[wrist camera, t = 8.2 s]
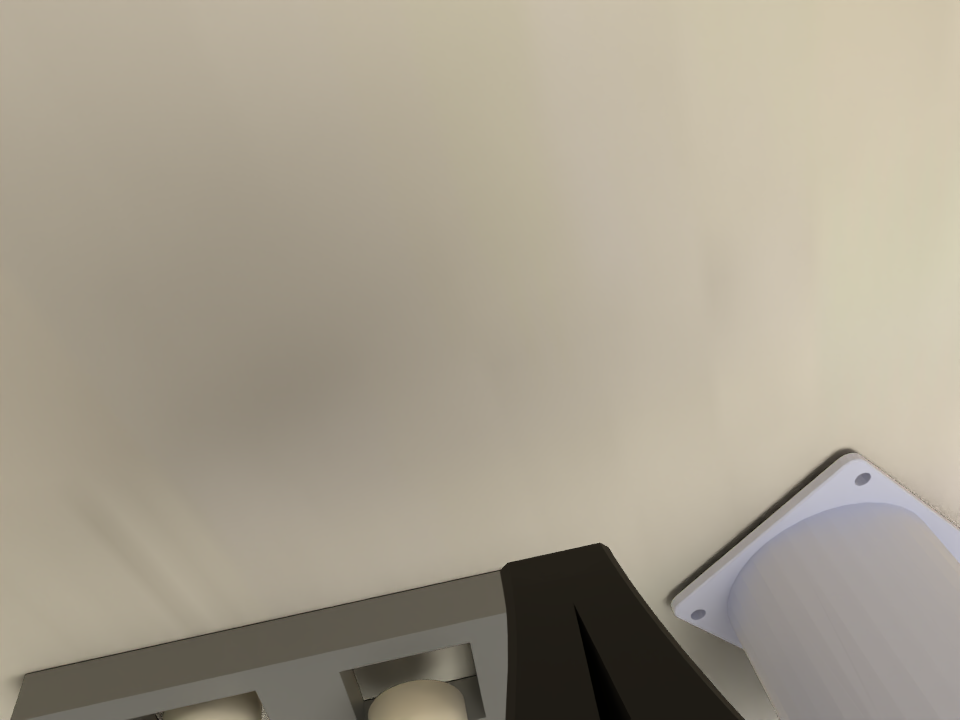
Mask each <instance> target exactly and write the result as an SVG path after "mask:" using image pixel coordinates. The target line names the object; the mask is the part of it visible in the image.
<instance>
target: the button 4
mask: <svg viewBox="0 0 960 720" xmlns="http://www.w3.org/2000/svg"><path fill="white" fill-rule="evenodd" d="M368 720H468V718H467V712H466V706H465V700H464V697H463V695H462V693H461V692H460V691H459V690H458V689H457V688H456V687H454V686H452V685H451V684H448V683H446V682H442V681H437V680H415V681H409V682H405V683H402V684H399V685H396V686H394V687H392V688H390V689H388V690H386V691H384V692H383V693H382V694H380V695H379V696H378V697H377V698H376V699H375V700H374V701H373V703H372V704H371V706H370V708H369V711H368Z"/></svg>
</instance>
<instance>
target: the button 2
mask: <svg viewBox="0 0 960 720" xmlns="http://www.w3.org/2000/svg"><path fill="white" fill-rule="evenodd" d="M261 717H262V703H261V701H260V699H259V697H258V695H257V692H256V691H252V692H247V693H243V694H238V695H234V696H230V697H225V698H221V699H216V700H212V701H207V702H203V703H198V704H194V705H189V706H185V707H180V708H176V709H172V710H167V711H164V713H163V719H162V720H261Z"/></svg>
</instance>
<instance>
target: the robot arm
mask: <svg viewBox="0 0 960 720" xmlns="http://www.w3.org/2000/svg"><path fill="white" fill-rule="evenodd" d="M500 575H501V581H502V587H503V593H504V599H505V605H506V615H507V633H508V673H507V694H506V715H505V720H745V719H744V718H743V717H742V716H741V715H740V714H739V713H738V712H737V711H736V710H735V708H734V707H733V706H732V705H731V704H730V703H729V702H728V701H727V700H726V699H725V697H724V696H723V695H722V694H721V693H720V692H719V691H718V690H717V688H716V687H715V686H714V685H713V684H712V683H711V682H710V680H709V679H708V678H707V677H706V676H705V675H704V673H703V672H702V671H701V670H700V669H699V668H698V666H697V665H696V664H695V663H694V662H693V661H692V659H691V658H690V657H689V656H688V655H687V654H686V652H685V651H684V650H683V649H682V648H681V646H680V645H679V644H678V643H677V642H676V640H675V639H674V638H673V637H672V635H671V634H670V633H669V632H668V630H667V629H666V628H665V627H664V625H663V624H662V623H661V621H660V620H659V619H658V618H657V616H656V615H655V614H654V612H653V611H652V610H651V608H650V607H649V606H648V605H647V603H646V602H645V601H644V599H643V598H642V596H641V595H640V594H639V592H638V591H637V590H636V588H635V587H634V585H633V584H632V583H631V581H630V580H629V578H628V577H627V575H626V574H625V572H624V571H623V569H622V568H621V566H620V565H619V563H618V562H617V560H616V559H615V557H614V556H613V554H612V552H611V551H610V549H609V547H607V546H605V545H603V544H601V543H597V544H592V545H587V546H583V547H578V548H574V549H569V550H564V551H560V552H555V553H551V554H546V555H542V556H537V557H532V558H528V559H523V560H519V561H514V562H510V563H507V564H506V565H505V566H504V567H503V568H502V569H501V570H500ZM671 608H672V610H673V612H674V615H675V616H676V617H678V618H680V619H682V620H684V621H686V622H688V623H690V624H692V625H694V626H696V627H698V628H700V629H702V630H704V631H706V632H708V633H710V634H712V635H714V636H717V637H719V638H721V639H723V640H725V641H727V642H729V643H731V644H733V645H735V646H737V647H739V648H741V649H743V650H744V651H745V653H746V655H747V657H748V659H749V661H750V663H751V665H752V667H753V669H754V671H755V672H756V674H757V676H758V678H759V680H760V682H761V684H762V686H763V688H764V690H765V692H766V694H767V696H768V698H769V700H770V702H771V704H772V706H773V708H774V710H775V712H776V714H777V716H778V717H779V719H780V720H960V528H958V527H957V526H956V525H954V524H953V523H952V522H950V521H949V520H948V519H946V518H945V517H944V516H942V515H941V514H940V513H938V512H937V511H936V510H934V509H933V508H932V507H930V506H929V505H927V504H926V503H925V502H923V501H922V500H921V499H919V498H918V497H917V496H915V495H914V494H913V493H911V492H910V491H909V490H907V489H906V488H905V487H903V486H902V485H901V484H899V483H898V482H897V481H895V480H894V479H893V478H891V477H890V476H889V475H887V474H886V473H885V472H883V471H882V470H881V469H879V468H878V467H877V466H875V465H874V464H872V463H871V462H870V461H868V460H867V459H866V458H864V457H863V456H862V455H860V454H858V453H849V454H846V455H843V456H842V457H840V458H839V459H837V460H836V461H835V462H834V463H833V464H831V465H830V466H829V467H828V468H827V469H826V470H824V471H823V472H822V473H821V474H820V475H818V476H817V477H816V478H815V479H814V480H813V481H811V482H810V483H809V484H808V485H807V486H805V487H804V488H803V489H802V490H801V491H800V492H798V493H797V494H796V495H795V496H794V497H792V498H791V499H790V500H789V501H788V502H786V503H785V504H784V505H783V506H782V507H781V508H779V509H778V510H777V511H776V512H775V513H773V514H772V515H771V516H770V517H769V518H768V519H766V520H765V521H764V522H763V523H762V524H760V525H759V526H758V527H757V528H756V529H755V530H753V531H752V532H751V533H750V534H749V535H747V536H746V537H745V538H744V539H743V540H741V541H740V542H739V543H738V544H737V545H736V546H734V547H733V548H732V549H731V550H730V551H728V552H727V553H726V554H725V555H724V556H723V557H721V558H720V559H719V560H718V561H717V562H715V563H714V564H713V565H712V566H711V567H710V568H708V569H707V570H706V571H705V572H704V573H702V574H701V575H700V576H699V577H698V578H697V579H695V580H694V581H693V582H692V583H691V584H689V585H688V586H687V587H686V588H685V589H683V590H682V591H681V592H680V593H679V594H678V595H676V596H675V597H674V599H673V600H672V602H671Z"/></svg>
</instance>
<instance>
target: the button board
mask: <svg viewBox="0 0 960 720" xmlns="http://www.w3.org/2000/svg"><path fill="white" fill-rule="evenodd" d="M466 643H470V644H471V649H472V654H473V658H474V663H475V668H476V673H477V676H474V677H469V678H465V679H461V680H456V681H452V682H447V683H448V684H451V685H452V686H454V687H456V688H457V689H458V690H459V691H460V692H461V693H462V695H463V697H464V700H465V706H466V712H467V718H468V720H505V715H506V694H507V673H508V633H507V615H506V605H505V599H504V593H503V587H502V581H501V575H500V571H497V572H492V573H487V574H483V575H478V576H474V577H469V578H465V579H460V580H455V581H451V582H446V583H442V584H437V585H433V586H428V587H423V588H419V589H414V590H410V591H405V592H401V593H396V594H392V595H387V596H382V597H378V598H373V599H369V600H364V601H360V602H355V603H350V604H346V605H341V606H337V607H332V608H328V609H323V610H318V611H314V612H309V613H305V614H300V615H296V616H291V617H286V618H282V619H277V620H273V621H268V622H264V623H259V624H255V625H250V626H245V627H241V628H236V629H232V630H227V631H223V632H218V633H213V634H209V635H204V636H200V637H195V638H191V639H186V640H181V641H177V642H172V643H168V644H163V645H159V646H154V647H149V648H145V649H140V650H136V651H131V652H127V653H122V654H118V655H113V656H108V657H104V658H99V659H95V660H90V661H86V662H81V663H76V664H72V665H67V666H63V667H58V668H54V669H49V670H44V671H40V672H35V673H31V674H26V675H25V677H24V680H23V683H22V686H21V689H20V692H19V696H18V699H17V702H16V705H15V708H14V711H13V714H12V717H11V720H158V719H157V717H156V716H155V714H154V713H158V712H163V711H167V710H172V709H176V708H180V707H185V706H189V705H194V704H198V703H203V702H207V701H212V700H216V699H221V698H225V697H230V696H234V695H238V694H243V693H247V692H252V691H256V692H257V695H258V697H259V699H260V701H261V703H262V705H263V707H264V709H265V711H266V713H267V715H268V717H269V720H368V711H369V708H370V706H371V704H372V703H373V701H374V700H375V699H372V700H368V701H363V698H362V695H361V692H360V689H359V687H358V684H357V681H356V678H355V675H354V673H353V670H352V669H354V668H359V667H363V666H368V665H372V664H377V663H381V662H386V661H390V660H394V659H399V658H403V657H408V656H412V655H417V654H421V653H426V652H430V651H435V650H439V649H443V648H448V647H452V646H457V645H461V644H466Z"/></svg>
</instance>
